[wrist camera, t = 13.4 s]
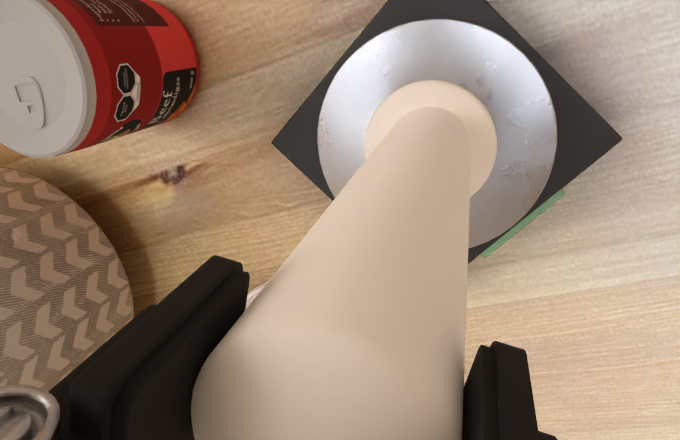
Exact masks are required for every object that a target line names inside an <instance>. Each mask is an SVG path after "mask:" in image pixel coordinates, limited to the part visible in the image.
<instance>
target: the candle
mask: <svg viewBox="0 0 680 440" xmlns="http://www.w3.org/2000/svg"><path fill="white" fill-rule="evenodd" d="M364 151H365V158H366V160H365V162H364V163H363V164H362V165H361V167H360V168H359V169H358V170H357V172H356V173H355V174H354V175H353V177H352V178H351V179H350V180H349V182H348V183H347V184H346V185H345V187H344V188H343V189H342V190H341V192H340V193H339V194H338V195H337V197H336V198H335V199H334V200H333V202H332V203H331V204H330V205H329V207H328V208H327V209H326V210H325V212H324V213H323V214H322V215H321V217H320V218H319V219H318V220H317V222H316V223H315V224H314V225H313V227H312V228H311V229H310V230H309V232H308V233H307V234H306V235H305V237H304V238H303V239H302V240H301V242H300V243H299V244H298V245H297V247H296V248H295V249H294V250H293V252H292V253H291V254H290V255H289V256H288V258H287V259H286V260H285V261H284V263H283V264H282V265H281V266H280V268H279V269H278V270H277V271H276V273H275V274H274V275H273V276H272V278H271V279H270V280H269V281H268V283H267V284H266V285H265V286H264V288H263V289H262V290H261V291H260V293H259V294H258V295H257V296H256V298H255V299H254V300H253V301H252V303H251V304H250V305H249V306H248V308H247V309H246V310H245V311H244V313H243V314H242V315H241V316H240V318H239V319H238V320H237V321H236V323H235V324H234V325H233V326H232V328H231V329H230V330H229V331H228V333H227V334H226V335H225V336H224V338H223V339H222V340H221V341H220V343H219V344H218V345H217V346H216V348H215V349H214V350H213V351H212V353H211V354H210V355H209V356H208V358H207V359H206V361H205V363H204V364H203V366H202V368H201V370H200V373H199V375H198V377H197V380H196V382H195V385H194V389H193V394H192V401H191V419H192V428H193V433H194V438H195V440H462V423H463V393H464V363H465V333H466V303H467V273H468V243H469V213H470V197H471V196H472V195H474V194H475V193H476V192H477V191H478V190H479V189H480V188H481V187H482V186H483V184H484V183H485V182H486V180H487V179H488V177H489V175H490V173H491V171H492V169H493V166H494V163H495V160H496V154H497V136H496V130H495V126H494V123H493V121H492V118H491V116H490V114H489V112H488V111H487V109H486V107H485V106H484V105H483V104H482V102H481V101H480V100H479V99H478V98H477V97H476V96H474V95H473V94H472V93H471V92H469V91H468V90H466V89H464V88H462V87H461V86H458V85H456V84H453V83H450V82H446V81H439V80H425V81H418V82H414V83H411V84H408V85H405V86H403V87H401V88H399V89H398V90H396V91H394V92H393V93H392V94H390V95H389V96H388V97H387V98H386V99H384V100H383V101H382V103H381V104H380V105H379V106H378V107H377V109H376V110H375V112H374V113H373V115H372V117H371V119H370V121H369V124H368V126H367V130H366V134H365V142H364Z"/></svg>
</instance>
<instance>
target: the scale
mask: <svg viewBox="0 0 680 440" xmlns="http://www.w3.org/2000/svg"><path fill="white" fill-rule="evenodd" d="M425 80H439V81H446V82H450V83H453V84H456V85H458V86H461V87H462V88H464V89H466V90H468V91H469V92H471V93H472V94H473V95H474V96H476V97H477V98H478V99H479V100H480V101H481V102H482V104H483V105H484V106H485V107H486V109H487V111H488V112H489V114H490V116H491V118H492V121H493V123H494V126H495V130H496V136H497V154H496V160H495V163H494V166H493V169H492V171H491V173H490V175H489V177H488V179H487V180H486V182H485V183H484V184H483V186H482V187H481V188H480V189H479V190H478V191H477V192H476V193H475V194H474V195H472V196H471V197H470V213H469V243H468V264H469V263H470V262H471V261H472V260H474V259H475V258H476V257H477V256H479V255H482V256H483V257H484V258H486V257H487V256H488V255H489V254H491V253H492V252H493V251H494V250H496V249H497V248H498V247H499V246H501V245H502V244H503V243H504V242H506V241H507V240H508V239H509V238H511V237H512V236H513V235H514V234H516V233H517V232H518V231H519V230H521V229H522V228H523V227H524V226H526V225H527V224H528V223H529V222H531V221H532V220H533V219H534V218H536V217H537V216H538V215H540V214H541V213H542V212H543V211H545V210H546V209H547V208H548V207H550V206H551V205H552V204H553V203H555V202H556V201H557V200H558V199H560V198H561V197H562V196H563V195H565V193H564V191H563V189H562V188H563V187H564V186H565V185H567V184H568V183H569V182H570V181H572V180H573V179H574V178H575V177H577V176H578V175H579V174H580V173H582V172H583V171H584V170H585V169H586V168H588V167H589V166H590V165H591V164H593V163H594V162H595V161H596V160H598V159H599V158H600V157H601V156H603V155H604V154H605V153H606V152H608V151H609V150H610V149H611V148H612V147H614V146H615V145H616V144H617V143H619V142H620V141H621V140H622V137H621V136H620V135H619V134H618V133H617V132H616V131H615V130H614V129H613V128H612V127H611V126H610V125H609V124H608V123H607V122H606V121H605V120H604V119H603V118H602V117H601V116H600V115H599V114H598V113H597V112H596V111H595V110H594V109H593V108H592V107H591V106H590V105H589V104H588V103H587V102H586V101H585V100H584V99H583V98H582V97H581V96H580V95H579V94H578V93H577V92H576V91H575V90H574V89H573V88H572V87H571V86H570V85H569V84H568V83H567V82H566V81H565V80H564V79H563V78H562V77H561V76H560V75H559V74H558V73H557V72H556V71H555V70H554V69H553V68H552V67H551V66H550V65H549V64H548V63H547V62H546V61H545V60H544V59H543V58H542V57H541V56H540V55H539V54H538V53H537V52H536V51H535V50H534V49H533V48H532V47H531V46H530V45H529V44H528V43H527V42H526V41H525V40H524V39H523V38H522V37H521V36H520V35H519V34H518V33H517V31H516V30H515V29H514V28H513V27H512V26H511V25H510V24H509V23H508V22H507V21H506V20H505V19H504V18H503V17H502V16H501V15H500V14H499V13H498V12H497V11H496V10H495V9H494V8H493V7H492V6H491V5H490V4H489V3H488V2H487V1H486V0H388V1H387V2H386V3H385V5H384V6H383V7H382V8H381V10H380V11H379V12H378V13H377V14H376V16H375V17H374V18H373V19H372V20H371V22H370V23H369V24H368V25H367V27H366V28H365V29H364V30H363V31H362V33H361V34H360V35H359V36H358V37H357V39H356V40H355V41H354V42H353V44H352V45H351V46H350V47H349V48H348V50H347V51H346V52H345V53H344V55H343V56H342V57H341V58H340V59H339V61H338V62H337V63H336V64H335V65H334V67H333V68H332V69H331V70H330V72H329V73H328V74H327V75H326V76H325V78H324V79H323V80H322V81H321V82H320V84H319V85H318V86H317V87H316V89H315V90H314V91H313V92H312V93H311V95H310V96H309V97H308V98H307V100H306V101H305V102H304V103H303V104H302V106H301V107H300V108H299V109H298V110H297V112H296V113H295V114H294V115H293V117H292V118H291V119H290V120H289V121H288V123H287V124H286V125H285V126H284V127H283V129H282V130H281V131H280V132H279V134H278V135H277V136H276V137H275V138H274V140H273V141H272V144H273V145H274V146H275V147H276V148H277V149H278V150H279V151H280V152H281V153H282V154H284V155H285V156H286V157H287V158H288V159H289V160H290V161H291V162H292V163H293V164H294V165H295V166H296V167H297V168H298V169H300V170H301V171H302V172H303V173H304V174H305V175H306V176H307V177H308V178H309V179H310V180H311V181H312V182H313V183H314V184H316V185H317V186H318V187H319V188H320V189H321V190H322V191H323V192H324V193H325V194H326V195H327V196H328V197H329V198H330V199H332V200H334V199H335V198H336V197H337V195H338V194H339V193H340V192H341V190H342V189H343V188H344V187H345V185H346V184H347V183H348V182H349V180H350V179H351V178H352V177H353V175H354V174H355V173H356V172H357V170H358V169H359V168H360V167H361V165H362V164H363V163H364V162H365V160H366V158H365V151H364V142H365V134H366V130H367V126H368V124H369V121H370V119H371V117H372V115H373V113H374V112H375V110H376V109H377V107H378V106H379V105H380V104H381V103H382V101H383V100H384V99H386V98H387V97H388V96H389V95H390V94H392V93H393V92H394V91H396V90H398V89H399V88H401V87H403V86H405V85H408V84H411V83H414V82H418V81H425Z"/></svg>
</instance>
